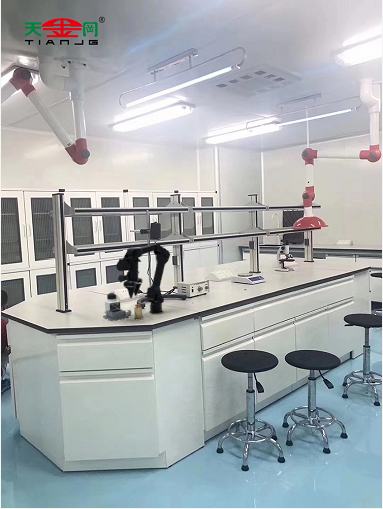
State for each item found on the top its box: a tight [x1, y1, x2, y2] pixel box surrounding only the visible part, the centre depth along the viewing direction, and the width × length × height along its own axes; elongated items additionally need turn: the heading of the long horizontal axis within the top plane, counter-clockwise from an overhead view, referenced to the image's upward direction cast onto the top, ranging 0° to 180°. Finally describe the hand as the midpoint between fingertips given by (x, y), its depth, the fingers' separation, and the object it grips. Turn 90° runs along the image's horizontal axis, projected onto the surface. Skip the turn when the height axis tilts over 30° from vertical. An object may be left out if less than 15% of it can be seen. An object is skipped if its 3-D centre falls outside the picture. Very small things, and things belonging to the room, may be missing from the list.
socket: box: [102, 308, 132, 322], centre depth 240 cm, size 15×11×4 cm
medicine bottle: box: [104, 292, 121, 313], centre depth 252 cm, size 7×7×12 cm
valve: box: [133, 303, 143, 320], centre depth 235 cm, size 4×4×8 cm
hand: (133, 297), depth 234 cm, fingers open, 9 cm apart
